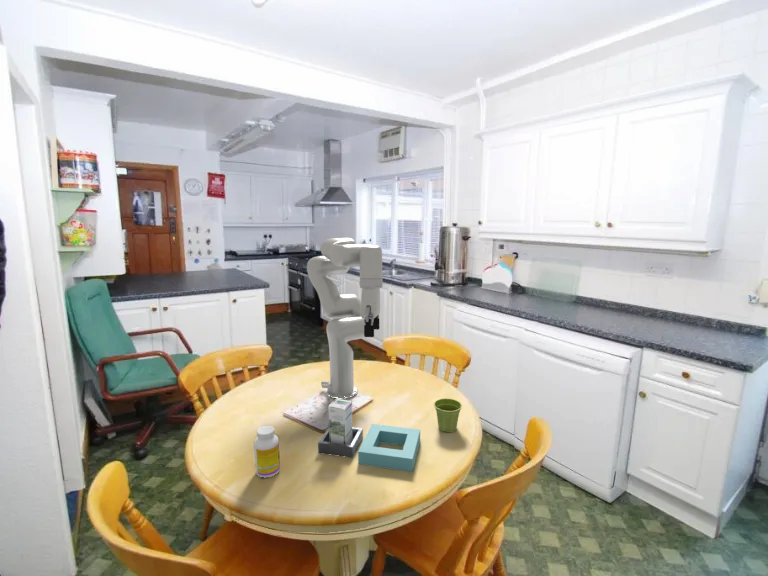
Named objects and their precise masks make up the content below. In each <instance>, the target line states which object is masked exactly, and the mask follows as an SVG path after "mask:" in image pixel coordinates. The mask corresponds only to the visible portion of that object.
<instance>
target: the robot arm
mask: <svg viewBox="0 0 768 576" xmlns="http://www.w3.org/2000/svg"><path fill="white" fill-rule="evenodd" d="M320 252H321V254H322V255H318V256H313V257H312V258H310V259H308V261H307V263H306V272H307V275H308V278H309V281H310V282H311V285H312V286H313V288H314V289H315V291H316V293H317V296H318V299H319V301H320V304H321V307H322V311H323V313H324V315H325V317H327V319H331V320H330V321H328V322H327V324H326V327H325V328H326V336H327V341H328V348H329V379H330V380H329V381H327V380H322V381H321V383H320V384H321V388H322V389H323V388H324V389H326V395H327V394H328V395H330V396H332V397H338V398H345V397H350V396H353V395H355V394H356V393H357V394H358V392H359V391H358V388H357V386H355V383H354V379H355V378H354V377H355V376H354V350H353V349H352V346H350V345H349V344H348V342H350V341H355V340H356V341H357V340H361V339H365V338H374V337H375V330H380V312H381V291H380V289H382V288H383V286H384V285H383V284H384V283H383V249H382V247H381V246H379V245H372V244H369V243H368V244H367V243H364V244H363V243H362V244H361V243H360V244H359V243H356V240H354V239H353V238H350V237H340V238H339V237H336V238H333V237H332V238H327V239H325V240H324V241H323V242H322V243H321V245H320ZM351 267H359V288H360V289H361V298H359V297H358V295H356V294H355V293H345V294H341V293H340V291H339V289H338V286H337V284H335V282H333V280H332V279H330V277H329V278H328V277H327V276H338V275H339V276H340V275H344V274H347V273H348V272H349V270H350V269H351ZM357 394H356V395H357ZM328 395H327V396H328ZM356 395H355V396H356ZM344 396H345V397H344Z"/></svg>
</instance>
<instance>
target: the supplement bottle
mask: <svg viewBox="0 0 768 576" xmlns="http://www.w3.org/2000/svg"><path fill="white" fill-rule="evenodd" d="M256 436H257V437H256V438H255V440H254V442H253V449H254V465H255V474H256V476H257V475H258V476H257V477H259V476H260V477H259V478H261V477H264V478H263V479H267V478H266V477H270V478H272V477H271V476H273V477H274V475H275V474H276V475H278V473H280V470H281V462H280V461H281V460H280V458H281V457H280V446H279V445H280V443H279V437H278V436H277V435H276V433H275V428H274V426H272V425H263V426H261V427H259V428H257V430H256ZM276 475H275V476H276Z"/></svg>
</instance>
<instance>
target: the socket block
mask: <svg viewBox="0 0 768 576" xmlns="http://www.w3.org/2000/svg"><path fill="white" fill-rule="evenodd" d="M380 443H383V444H385V443H386V444H391V445H401V446H403V447H402V449H397V448H396V449H395V448H387V447H381V446H379V445H380ZM420 443H421V429H418V428H411V427H402V426H395V425H393V426H392V425H384V424H375V423H371V425H370V427H369V429H368V431H367V433H366V435H365V437H364V438H363V441H362V442H361V444H360V446H359V447H360V448H359V449H358V451H357V458H358V459H357V461H358V462H357V465H363V466H369V467H377V468H384V469H390V470H398V471H403V472H404V471H405V472H411V473H412V472H413V471H414V466H415V464H416V463H415V462H416V459H417V455H418V451H419V446H420Z"/></svg>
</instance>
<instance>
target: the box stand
mask: <svg viewBox="0 0 768 576" xmlns="http://www.w3.org/2000/svg"><path fill="white" fill-rule="evenodd" d="M363 430H364V429H363V427H354V426H352V436H353V441H352V443H351V445H347V444H339V443H332V442H330V439H329V427H328V428H327V429H326V431H325V432H324V434H323V435H322V436H321V438H320V439H319V440H318V442H317V450H318V451H317V453H318V454H321V453H324V454H323V455H328V454H331V455H330V456H335V455H339V456H338V457H343V456H345V457H344V458H350V459H352V458H354V456H355V454H356V453H357V452H358V451H357V450H359V449H358V448H359V447H360V446H361V444H362V442H363V441H362V440H364V431H363Z"/></svg>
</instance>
